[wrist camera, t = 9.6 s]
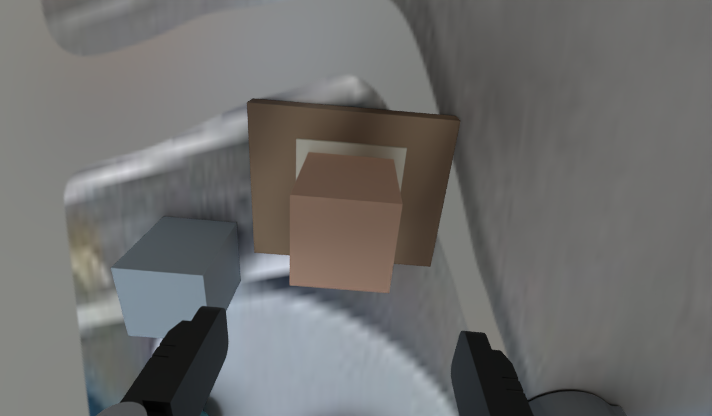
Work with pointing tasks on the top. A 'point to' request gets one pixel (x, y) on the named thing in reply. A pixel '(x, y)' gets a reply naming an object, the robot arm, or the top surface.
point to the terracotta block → (344, 222)
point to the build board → (355, 138)
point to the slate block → (177, 273)
